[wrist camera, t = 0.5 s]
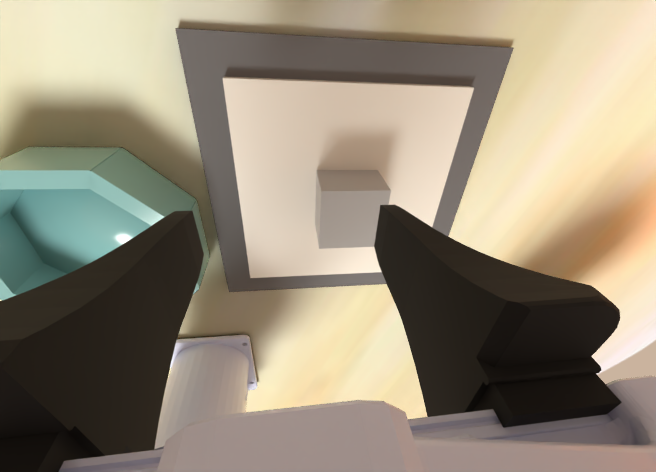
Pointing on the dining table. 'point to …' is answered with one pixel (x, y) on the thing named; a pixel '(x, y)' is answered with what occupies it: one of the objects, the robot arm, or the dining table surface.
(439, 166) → the cover
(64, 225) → the bowl
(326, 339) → the dining table surface
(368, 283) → the mat
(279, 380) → the dining table surface
